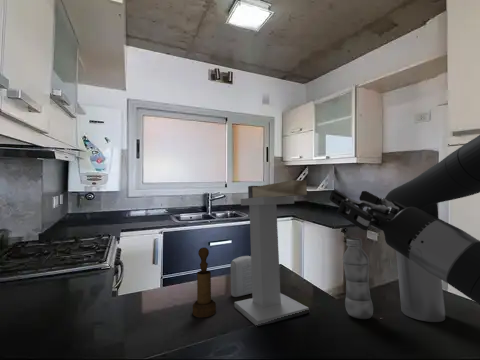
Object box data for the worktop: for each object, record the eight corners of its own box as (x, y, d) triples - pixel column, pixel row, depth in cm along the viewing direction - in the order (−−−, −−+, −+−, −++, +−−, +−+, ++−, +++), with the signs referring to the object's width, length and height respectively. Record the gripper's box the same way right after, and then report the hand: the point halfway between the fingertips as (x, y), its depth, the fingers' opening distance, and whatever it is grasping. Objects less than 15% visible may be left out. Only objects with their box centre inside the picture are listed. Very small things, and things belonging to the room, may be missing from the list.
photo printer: (253, 288, 89) (252, 253, 90) (260, 291, 86) (259, 255, 87) (229, 295, 83) (228, 257, 85) (235, 298, 80) (234, 259, 81)
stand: (279, 297, 80) (275, 198, 83) (309, 313, 67) (302, 196, 71) (234, 307, 73) (231, 199, 76) (258, 327, 60) (253, 196, 64)
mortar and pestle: (205, 319, 65) (204, 250, 67) (187, 314, 69) (187, 248, 71) (220, 310, 71) (219, 246, 73) (203, 306, 74) (202, 245, 76)
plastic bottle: (351, 309, 69) (346, 236, 71) (377, 316, 64) (371, 238, 66) (341, 317, 65) (336, 239, 67) (369, 325, 60) (362, 241, 62)
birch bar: (260, 198, 81) (259, 186, 81) (307, 194, 60) (306, 178, 61) (248, 198, 79) (248, 186, 79) (293, 194, 58) (292, 178, 59)
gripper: (466, 218, 39) (377, 178, 52) (412, 223, 32) (327, 176, 46) (443, 257, 41) (364, 210, 55) (389, 269, 35) (315, 211, 48)
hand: (347, 194), depth 50 cm, fingers open, 8 cm apart
